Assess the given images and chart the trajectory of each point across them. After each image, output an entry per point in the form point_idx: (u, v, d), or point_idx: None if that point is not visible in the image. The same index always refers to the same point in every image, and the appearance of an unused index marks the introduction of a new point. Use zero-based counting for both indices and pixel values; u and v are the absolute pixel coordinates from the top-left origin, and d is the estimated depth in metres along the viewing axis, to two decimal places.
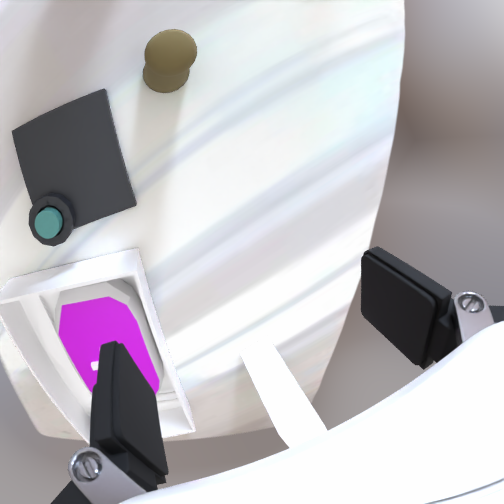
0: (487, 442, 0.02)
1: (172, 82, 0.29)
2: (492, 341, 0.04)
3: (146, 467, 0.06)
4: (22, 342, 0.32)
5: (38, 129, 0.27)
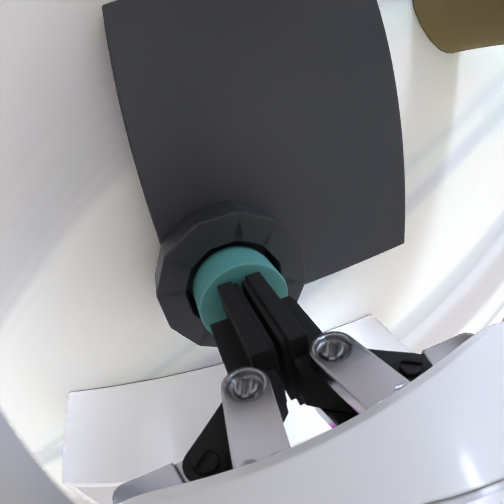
0: (487, 442, 0.02)
1: (490, 44, 0.10)
2: (492, 341, 0.04)
3: None
4: None
5: (202, 12, 0.09)
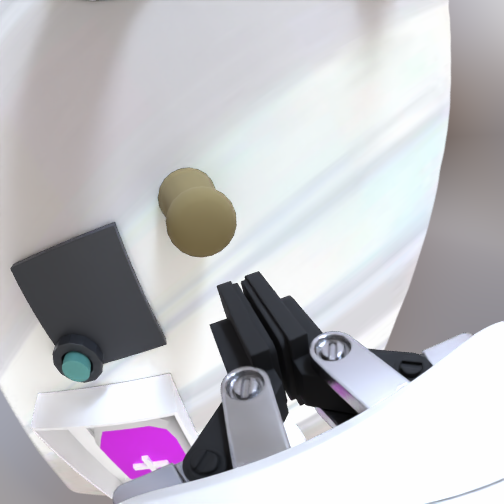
0: (487, 442, 0.02)
1: None
2: (492, 341, 0.04)
3: None
4: (62, 449, 0.31)
5: (41, 270, 0.26)
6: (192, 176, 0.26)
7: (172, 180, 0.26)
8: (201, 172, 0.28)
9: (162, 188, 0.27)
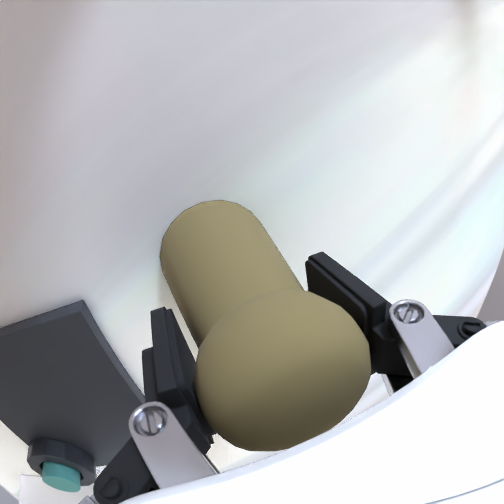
0: (487, 442, 0.02)
1: None
2: (492, 341, 0.04)
3: (200, 424, 0.07)
4: None
5: None
6: (235, 228, 0.12)
7: (190, 233, 0.13)
8: (245, 211, 0.15)
9: (168, 245, 0.14)
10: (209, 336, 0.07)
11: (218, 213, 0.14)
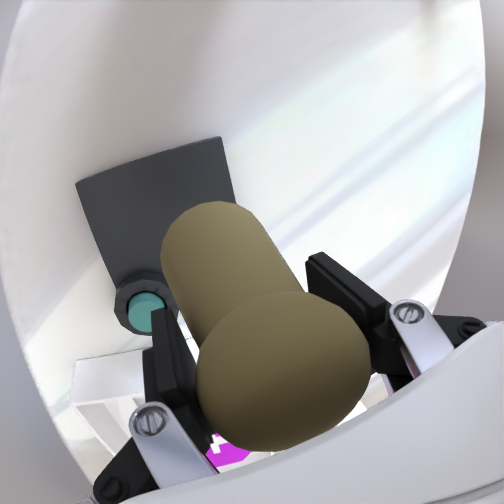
0: (487, 442, 0.02)
1: None
2: (492, 341, 0.04)
3: (200, 424, 0.07)
4: (103, 430, 0.29)
5: (120, 185, 0.24)
6: (235, 229, 0.12)
7: (190, 234, 0.13)
8: (245, 211, 0.15)
9: (168, 246, 0.14)
10: (210, 337, 0.07)
11: (218, 214, 0.14)
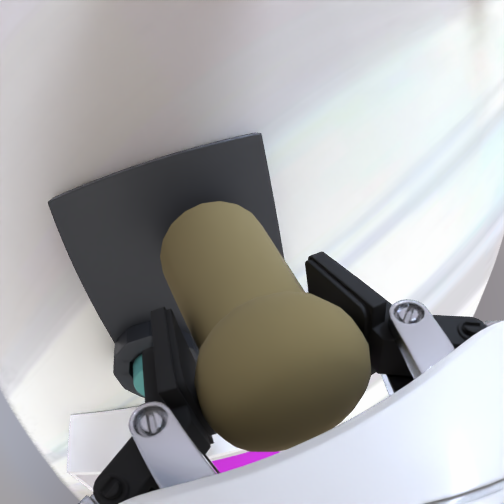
0: (487, 442, 0.02)
1: None
2: (492, 341, 0.04)
3: (200, 423, 0.07)
4: None
5: (112, 204, 0.16)
6: (235, 229, 0.12)
7: (190, 234, 0.13)
8: (245, 211, 0.15)
9: (168, 246, 0.14)
10: (210, 337, 0.08)
11: (218, 214, 0.14)
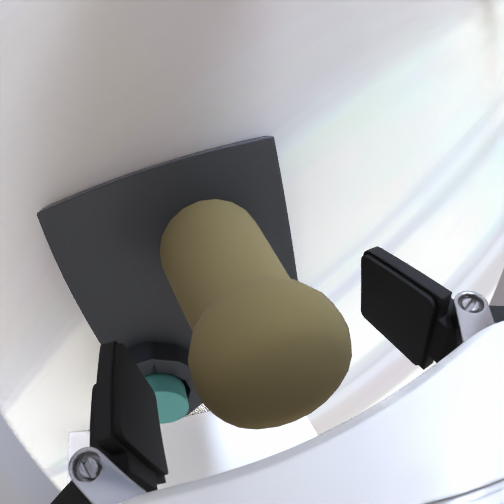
0: (487, 442, 0.02)
1: None
2: (492, 341, 0.04)
3: (145, 467, 0.06)
4: None
5: (108, 216, 0.14)
6: (229, 224, 0.13)
7: (187, 229, 0.14)
8: (239, 209, 0.16)
9: (167, 240, 0.15)
10: (202, 318, 0.08)
11: (214, 211, 0.15)
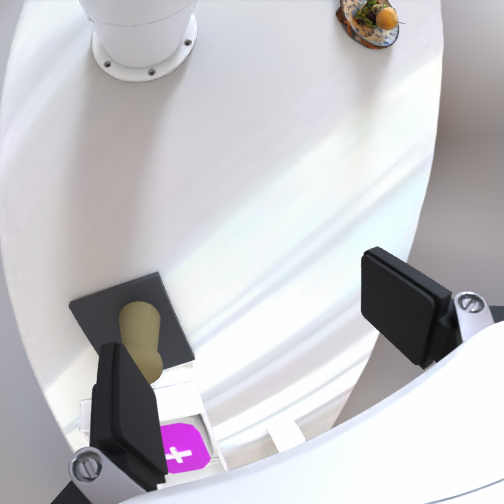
0: (487, 442, 0.02)
1: None
2: (492, 341, 0.04)
3: (146, 467, 0.06)
4: None
5: (97, 308, 0.36)
6: (137, 318, 0.35)
7: (125, 317, 0.35)
8: (146, 306, 0.37)
9: (120, 318, 0.36)
10: None
11: (135, 309, 0.36)
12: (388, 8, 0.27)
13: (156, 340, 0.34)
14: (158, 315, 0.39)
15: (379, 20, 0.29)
